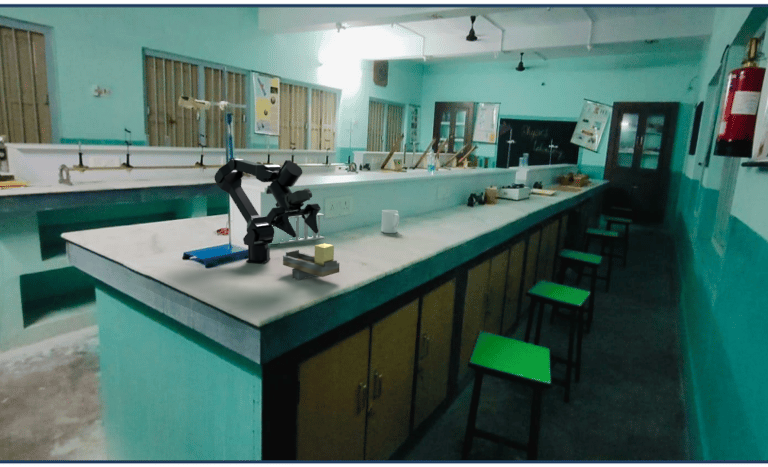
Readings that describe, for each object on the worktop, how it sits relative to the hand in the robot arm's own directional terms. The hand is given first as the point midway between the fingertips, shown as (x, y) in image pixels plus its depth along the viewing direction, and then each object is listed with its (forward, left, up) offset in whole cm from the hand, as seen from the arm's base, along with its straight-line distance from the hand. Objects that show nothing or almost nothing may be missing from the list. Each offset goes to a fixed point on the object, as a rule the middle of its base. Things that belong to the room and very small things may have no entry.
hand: (306, 234), depth 140 cm
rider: (+7, -4, -9) cm, 12 cm away
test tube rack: (-20, +47, -14) cm, 53 cm away
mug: (+17, +79, -14) cm, 82 cm away
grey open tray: (+2, -1, -14) cm, 14 cm away
